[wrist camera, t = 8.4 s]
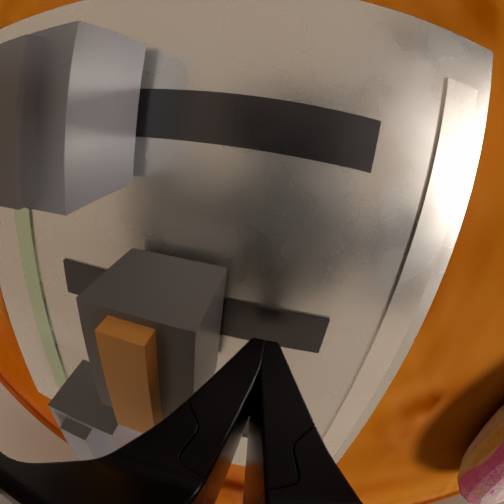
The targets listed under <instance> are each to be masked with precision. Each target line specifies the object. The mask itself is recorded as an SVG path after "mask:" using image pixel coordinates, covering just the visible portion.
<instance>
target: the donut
mask: <svg viewBox="0 0 504 504" xmlns="http://www.w3.org/2000/svg"><path fill="white" fill-rule="evenodd" d="M457 479H458V485H459V490H460V494H461V495H462V496H463V497H464V498H465V499H466V500H467V501H468V502H470V503H472V504H497V503H501V502H504V404H503V405H502V406H501V407H500V408H499V409H498V410H497V411H496V413H495V414H494V415H493V416H492V417H491V418H490V419H489V421H488V422H487V423H486V424H485V425H484V427H483V428H482V429H481V431H480V432H479V433H478V435H477V436H476V438H475V439H474V440H473V442H472V443H471V445H470V446H469V448H468V449H467V451H466V453H465V455H464V456H463V459H462V462H461V466H460V470H459V474H458V477H457Z"/></svg>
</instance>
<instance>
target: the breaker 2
mask: <svg viewBox="0 0 504 504" xmlns="http://www.w3.org/2000/svg"><path fill="white" fill-rule="evenodd" d="M48 406H49V408H50V410H51V412H52V414H53V416H54V418H55V420H56V422H57V424H58V426H59V427H60V429H61V431H62V433H63V435H64V437H65V438H66V440H67V442H68V444H69V445H70V447H71V449H72V450H73V452H74V453H75V455H76V457H77V458H78V460H79V461H81V460H90V459H96V458H100V457H102V456H105V455H108V454H110V453H112V452H114V451H115V450H117V449H119V448H120V447H122V446H124V445H125V444H127V443H129V442H130V441H132V440H133V439H135V438H137V437H138V436H140V435H141V434H143V433H141V432H138V431H135V430H132V429H130V428H127V427H124V426H122V425H119V424H118V423H117V420H116V417H115V413H114V410H113V408H112V407H109V406H107V405H104V404H102V403H101V401H100V397H99V394H98V391H97V387H96V384H95V380H94V377H93V373H92V369H91V366H90V362H89V361H86V360H84V359H83V360H82V361H81V362H80V364H79V365H78V366H77V368H76V369H75V370H74V371H73V373H72V374H71V375H70V377H69V378H68V379H67V380H66V382H65V383H64V384H63V386H62V387H61V388H60V390H59V391H58V392H57V393H56V395H55V396H54V397H53V399H52V400H51V401H50V403H49V404H48Z"/></svg>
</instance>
